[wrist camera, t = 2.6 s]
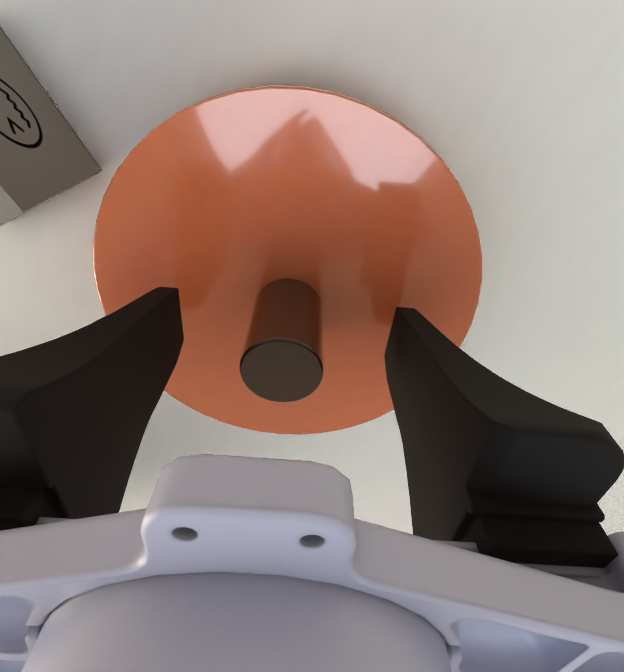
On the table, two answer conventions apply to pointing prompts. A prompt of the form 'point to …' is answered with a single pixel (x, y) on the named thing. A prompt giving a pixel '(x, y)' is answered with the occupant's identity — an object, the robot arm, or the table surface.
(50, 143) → the dice cube
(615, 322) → the table surface
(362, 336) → the lid
